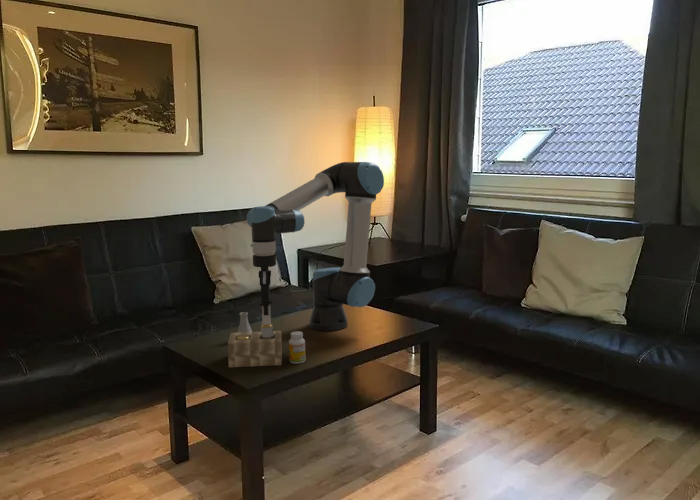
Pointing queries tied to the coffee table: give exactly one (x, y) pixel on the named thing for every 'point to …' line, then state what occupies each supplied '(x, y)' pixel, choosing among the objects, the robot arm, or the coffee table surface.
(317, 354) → the coffee table surface
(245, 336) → the peg
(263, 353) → the birch block
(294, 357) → the supplement bottle
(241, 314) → the flask
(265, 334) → the peg
